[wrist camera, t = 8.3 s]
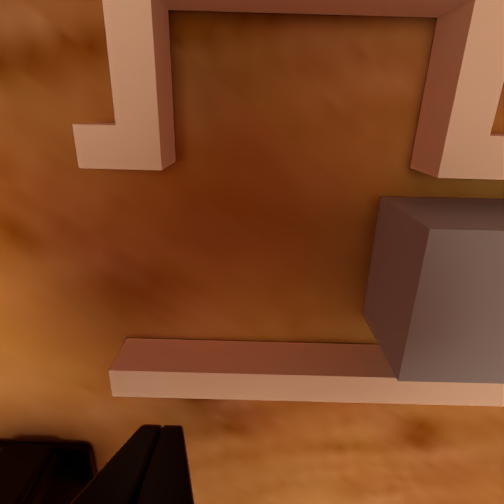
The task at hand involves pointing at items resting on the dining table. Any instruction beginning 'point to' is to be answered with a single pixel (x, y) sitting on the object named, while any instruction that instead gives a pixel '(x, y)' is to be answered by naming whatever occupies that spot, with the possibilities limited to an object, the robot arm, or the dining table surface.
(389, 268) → the slate block
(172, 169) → the dining table surface
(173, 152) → the white tray
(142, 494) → the robot arm
